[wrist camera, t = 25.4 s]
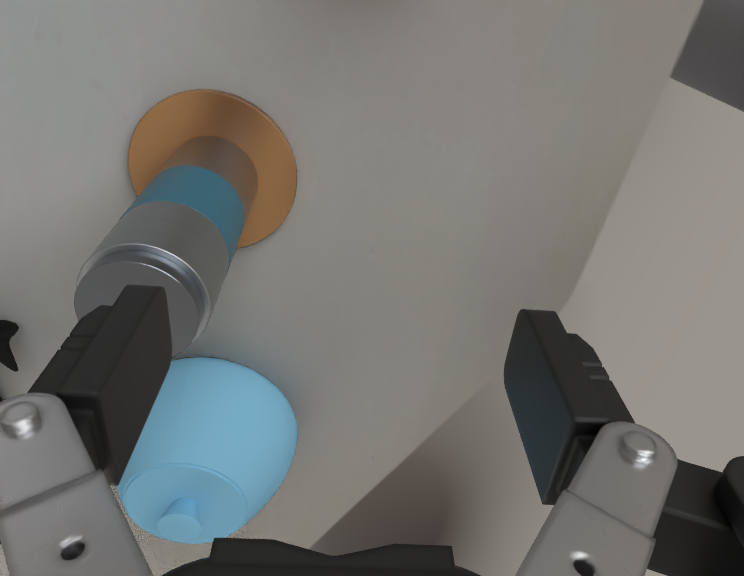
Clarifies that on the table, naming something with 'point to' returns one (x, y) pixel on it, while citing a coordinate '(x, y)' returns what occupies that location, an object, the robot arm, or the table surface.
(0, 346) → the toy airplane
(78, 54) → the table surface
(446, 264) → the table surface
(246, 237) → the cork coaster
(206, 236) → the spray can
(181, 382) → the sugar bowl
